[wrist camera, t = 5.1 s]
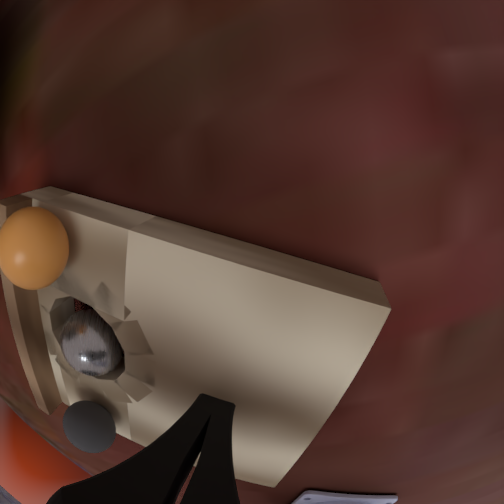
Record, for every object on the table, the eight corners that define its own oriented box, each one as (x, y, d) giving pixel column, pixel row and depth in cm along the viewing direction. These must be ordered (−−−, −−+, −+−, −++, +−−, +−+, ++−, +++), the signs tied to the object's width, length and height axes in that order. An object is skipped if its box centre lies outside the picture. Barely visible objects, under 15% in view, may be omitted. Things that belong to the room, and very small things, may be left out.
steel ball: (68, 320, 14) (123, 331, 15) (60, 376, 12) (120, 387, 13) (63, 290, 11) (129, 304, 13) (50, 357, 9) (124, 370, 11)
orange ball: (84, 281, 10) (33, 317, 8) (38, 259, 11) (-11, 285, 8) (86, 207, 9) (24, 231, 7) (36, 192, 10) (-20, 210, 7)
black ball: (126, 434, 14) (104, 470, 11) (84, 411, 14) (60, 443, 11) (123, 405, 13) (95, 446, 10) (77, 381, 13) (46, 415, 10)
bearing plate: (278, 461, 15) (270, 507, 12) (67, 377, 16) (38, 407, 13) (379, 281, 10) (402, 335, 7) (50, 186, 12) (-6, 201, 9)
